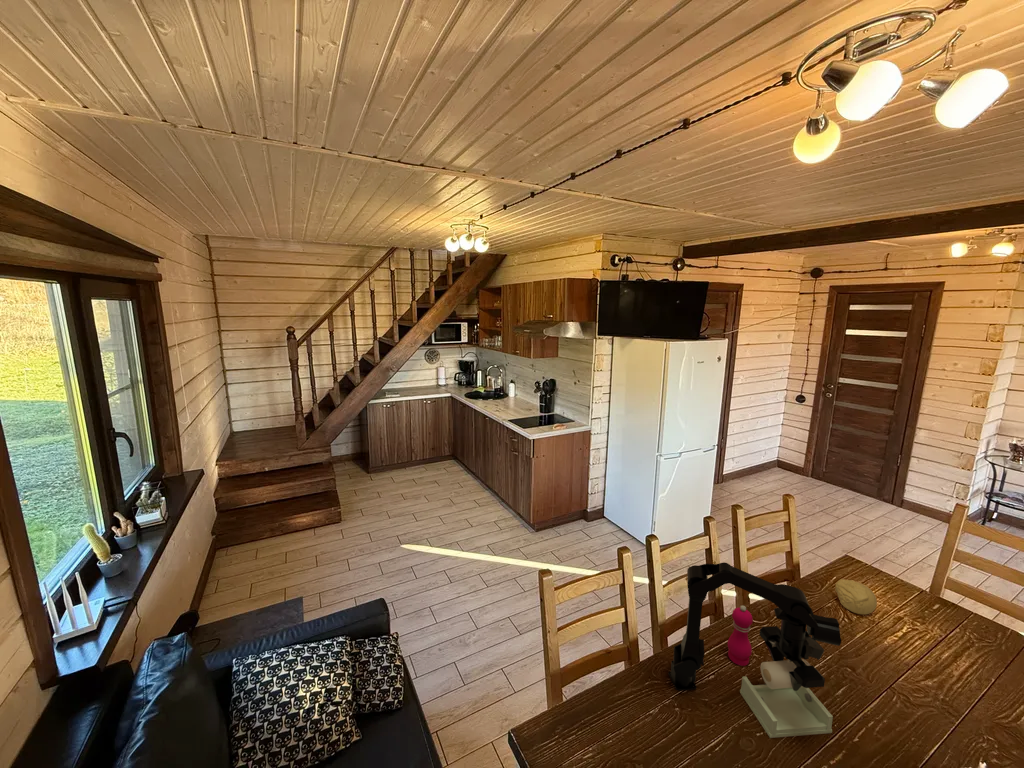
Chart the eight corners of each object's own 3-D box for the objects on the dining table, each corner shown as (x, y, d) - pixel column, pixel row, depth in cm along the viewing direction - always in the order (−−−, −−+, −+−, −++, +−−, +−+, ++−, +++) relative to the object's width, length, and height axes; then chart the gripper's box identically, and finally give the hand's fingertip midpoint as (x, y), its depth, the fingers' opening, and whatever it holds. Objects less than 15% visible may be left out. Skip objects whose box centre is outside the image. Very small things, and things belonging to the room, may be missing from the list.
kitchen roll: (799, 672, 124) (801, 653, 123) (816, 691, 118) (818, 672, 116) (758, 675, 123) (760, 656, 122) (772, 694, 117) (775, 675, 116)
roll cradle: (770, 737, 115) (771, 721, 114) (739, 691, 128) (741, 676, 127) (831, 732, 116) (834, 716, 115) (795, 687, 129) (797, 672, 128)
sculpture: (828, 599, 168) (831, 575, 166) (855, 596, 169) (858, 572, 167) (854, 620, 156) (858, 595, 154) (882, 617, 158) (886, 592, 156)
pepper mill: (753, 668, 136) (759, 615, 133) (730, 665, 138) (734, 612, 134) (746, 651, 143) (751, 600, 140) (723, 648, 145) (728, 597, 141)
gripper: (847, 658, 109) (840, 708, 111) (795, 607, 127) (790, 651, 130) (807, 661, 108) (800, 711, 111) (760, 610, 126) (756, 654, 129)
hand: (786, 679), depth 120 cm, fingers closed on kitchen roll, 6 cm apart
